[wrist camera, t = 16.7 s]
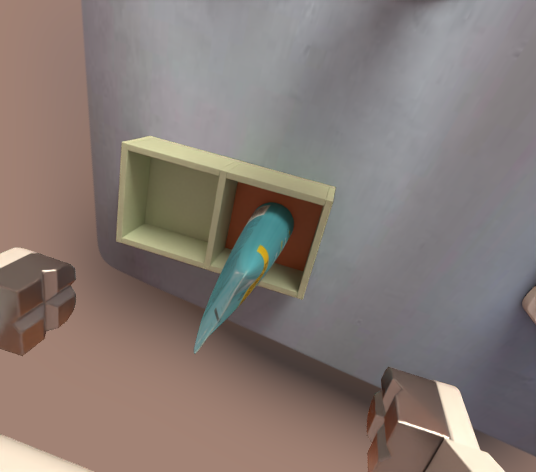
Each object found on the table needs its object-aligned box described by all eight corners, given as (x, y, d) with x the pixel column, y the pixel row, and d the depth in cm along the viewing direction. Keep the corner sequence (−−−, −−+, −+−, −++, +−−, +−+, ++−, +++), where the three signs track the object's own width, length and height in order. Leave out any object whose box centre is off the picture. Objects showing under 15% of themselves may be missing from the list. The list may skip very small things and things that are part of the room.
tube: (278, 257, 43) (226, 372, 25) (241, 238, 43) (164, 339, 25) (307, 203, 40) (271, 291, 22) (268, 183, 40) (200, 254, 22)
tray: (335, 187, 39) (333, 201, 34) (308, 275, 44) (302, 300, 39) (149, 135, 42) (121, 141, 36) (142, 224, 46) (115, 241, 41)
